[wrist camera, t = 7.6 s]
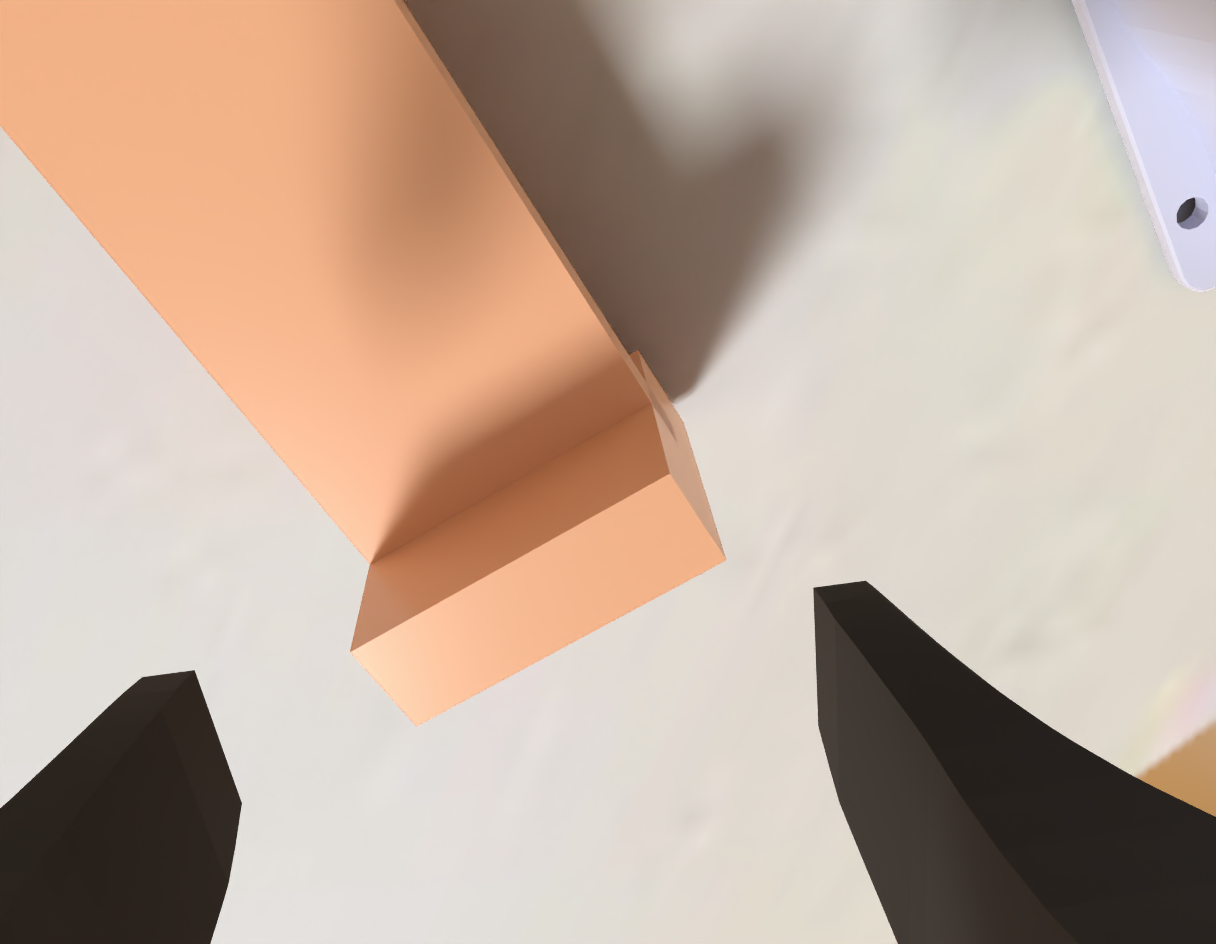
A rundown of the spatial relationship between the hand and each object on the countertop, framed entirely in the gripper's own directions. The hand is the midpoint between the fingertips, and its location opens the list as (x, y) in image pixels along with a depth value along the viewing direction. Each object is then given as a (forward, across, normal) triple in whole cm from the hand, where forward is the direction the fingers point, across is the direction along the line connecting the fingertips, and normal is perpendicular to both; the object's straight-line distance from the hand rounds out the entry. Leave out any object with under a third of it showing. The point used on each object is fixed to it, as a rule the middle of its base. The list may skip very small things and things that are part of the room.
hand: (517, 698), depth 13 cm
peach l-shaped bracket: (+7, +2, -5) cm, 9 cm away
